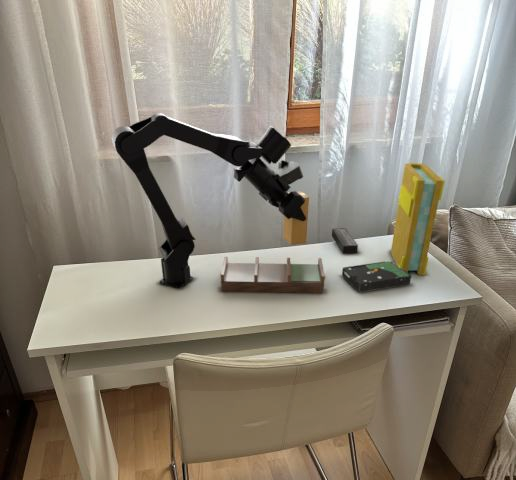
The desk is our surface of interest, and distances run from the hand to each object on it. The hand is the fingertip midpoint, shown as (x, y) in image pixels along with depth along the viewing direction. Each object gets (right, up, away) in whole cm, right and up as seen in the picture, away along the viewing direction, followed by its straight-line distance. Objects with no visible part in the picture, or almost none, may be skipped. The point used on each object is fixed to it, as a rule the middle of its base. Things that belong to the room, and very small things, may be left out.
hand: (300, 216), depth 133 cm
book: (+31, -11, +9) cm, 34 cm away
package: (-1, -6, +3) cm, 7 cm away
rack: (-8, -18, -3) cm, 20 cm away
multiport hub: (+15, -4, +19) cm, 25 cm away
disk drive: (+20, -18, -2) cm, 26 cm away
